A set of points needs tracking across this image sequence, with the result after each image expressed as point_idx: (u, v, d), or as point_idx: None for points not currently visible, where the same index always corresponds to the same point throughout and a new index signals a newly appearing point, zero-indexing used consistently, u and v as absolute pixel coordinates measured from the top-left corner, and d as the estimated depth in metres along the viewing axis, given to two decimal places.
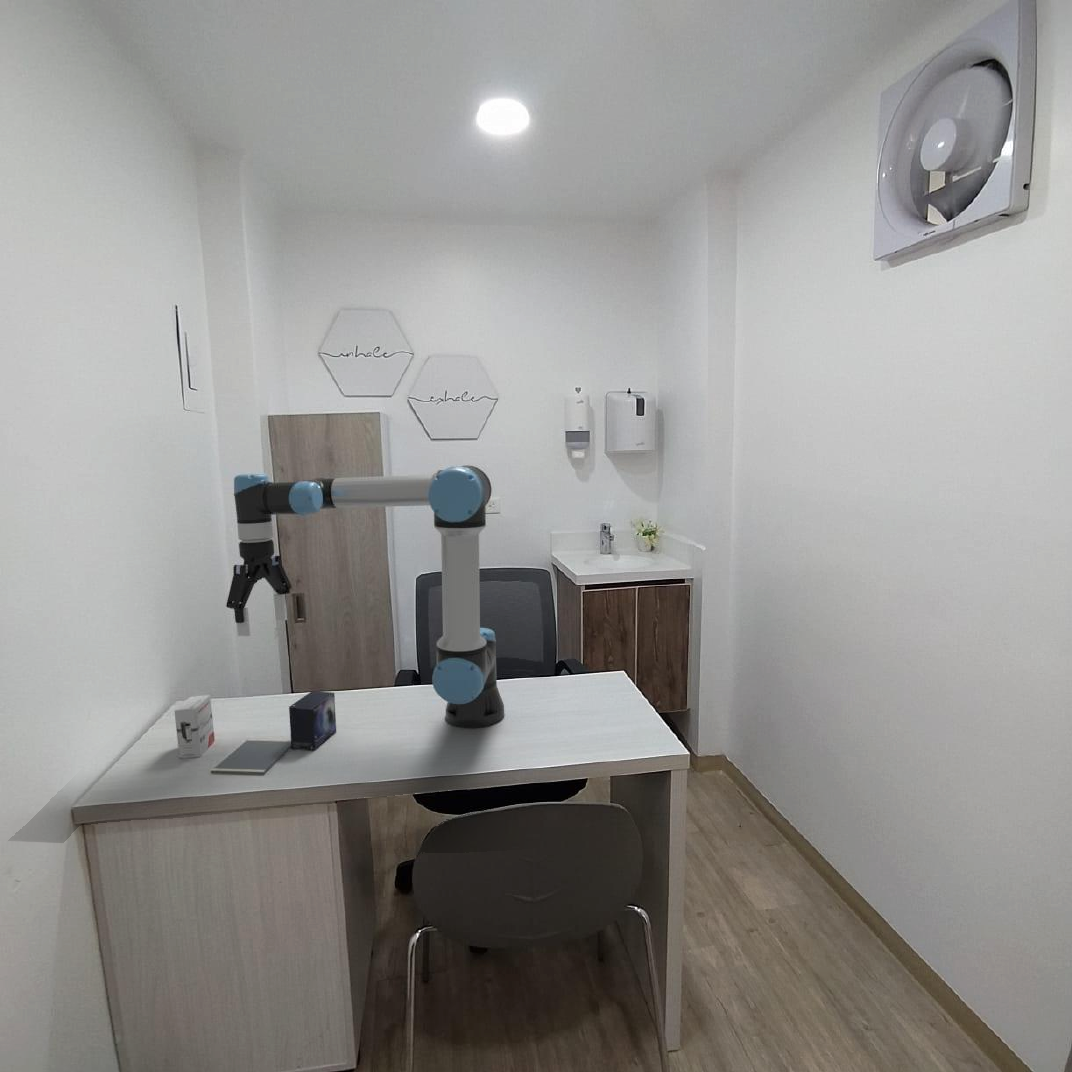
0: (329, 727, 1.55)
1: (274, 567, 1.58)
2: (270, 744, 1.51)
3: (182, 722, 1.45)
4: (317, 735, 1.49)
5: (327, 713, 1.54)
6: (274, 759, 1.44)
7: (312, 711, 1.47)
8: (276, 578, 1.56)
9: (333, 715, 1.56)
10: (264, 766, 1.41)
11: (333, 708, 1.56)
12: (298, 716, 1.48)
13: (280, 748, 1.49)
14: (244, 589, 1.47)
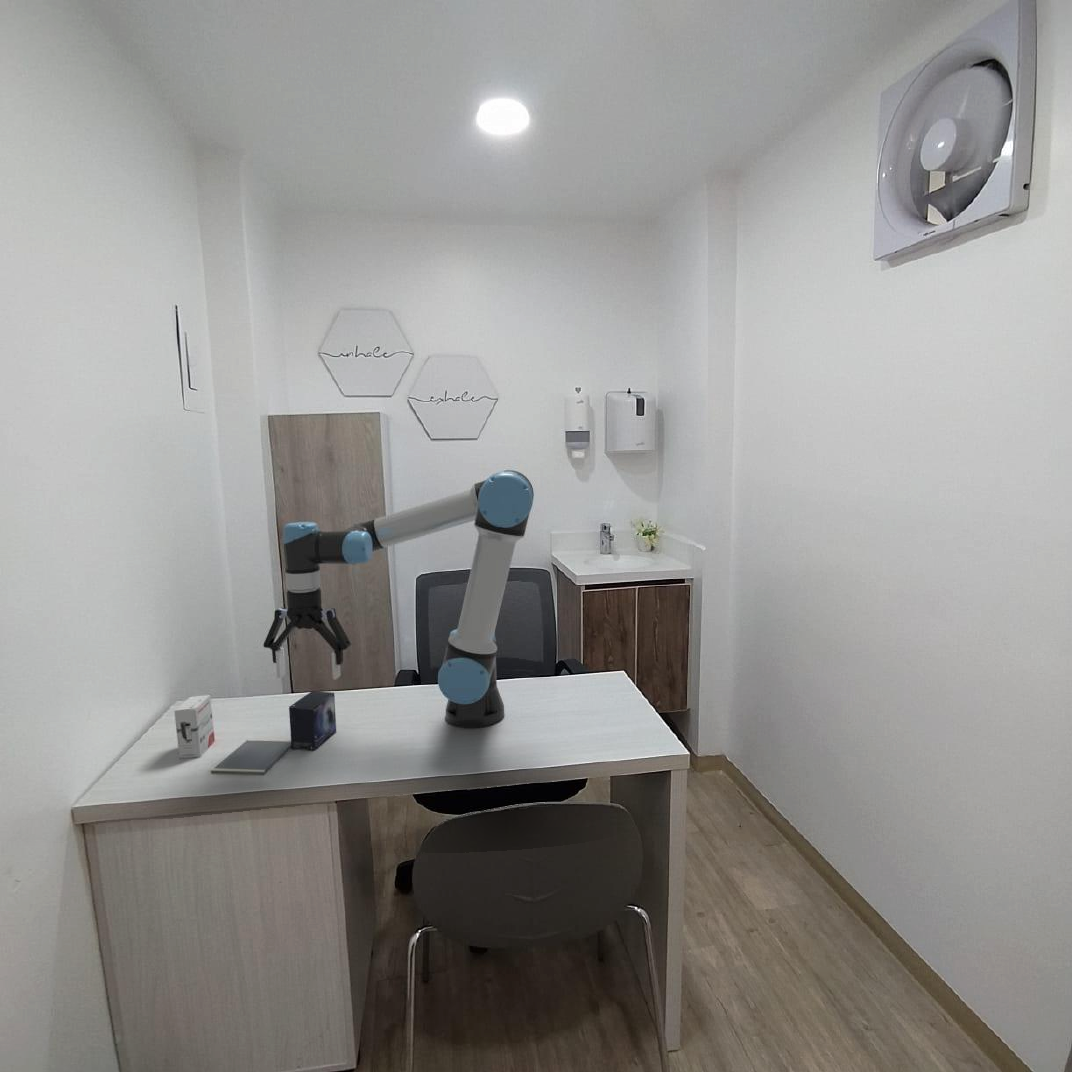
0: (329, 727, 1.55)
1: None
2: (270, 744, 1.51)
3: (181, 722, 1.45)
4: (317, 735, 1.49)
5: (327, 713, 1.54)
6: (274, 759, 1.44)
7: (312, 711, 1.47)
8: (323, 633, 1.49)
9: (333, 715, 1.56)
10: (264, 766, 1.41)
11: (333, 708, 1.56)
12: (298, 716, 1.48)
13: (280, 748, 1.49)
14: None
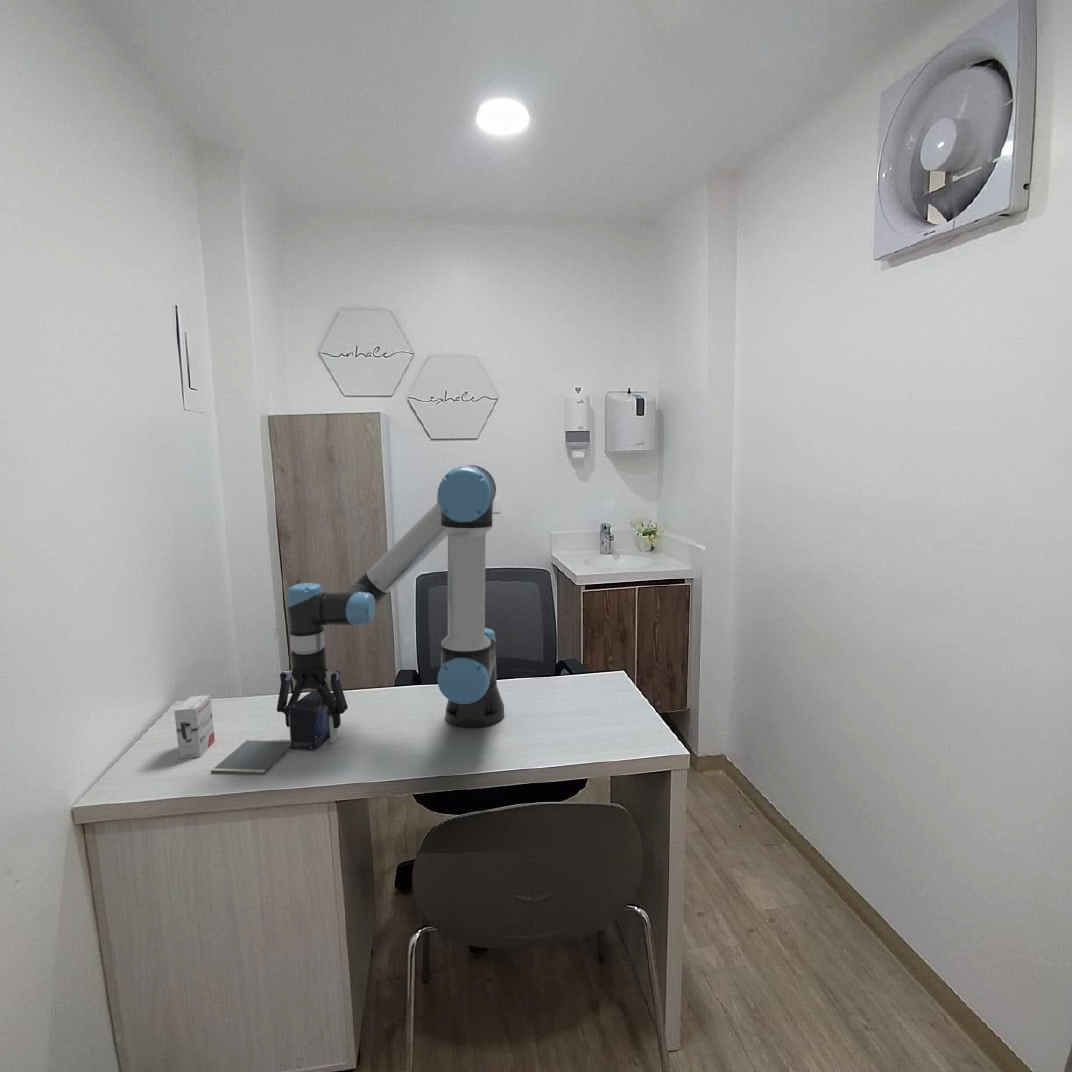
0: (329, 727, 1.55)
1: None
2: (270, 744, 1.51)
3: (182, 722, 1.45)
4: (317, 735, 1.49)
5: (327, 713, 1.54)
6: (274, 759, 1.44)
7: (312, 711, 1.47)
8: (324, 695, 1.51)
9: None
10: (264, 766, 1.41)
11: None
12: (298, 716, 1.48)
13: (280, 748, 1.49)
14: None
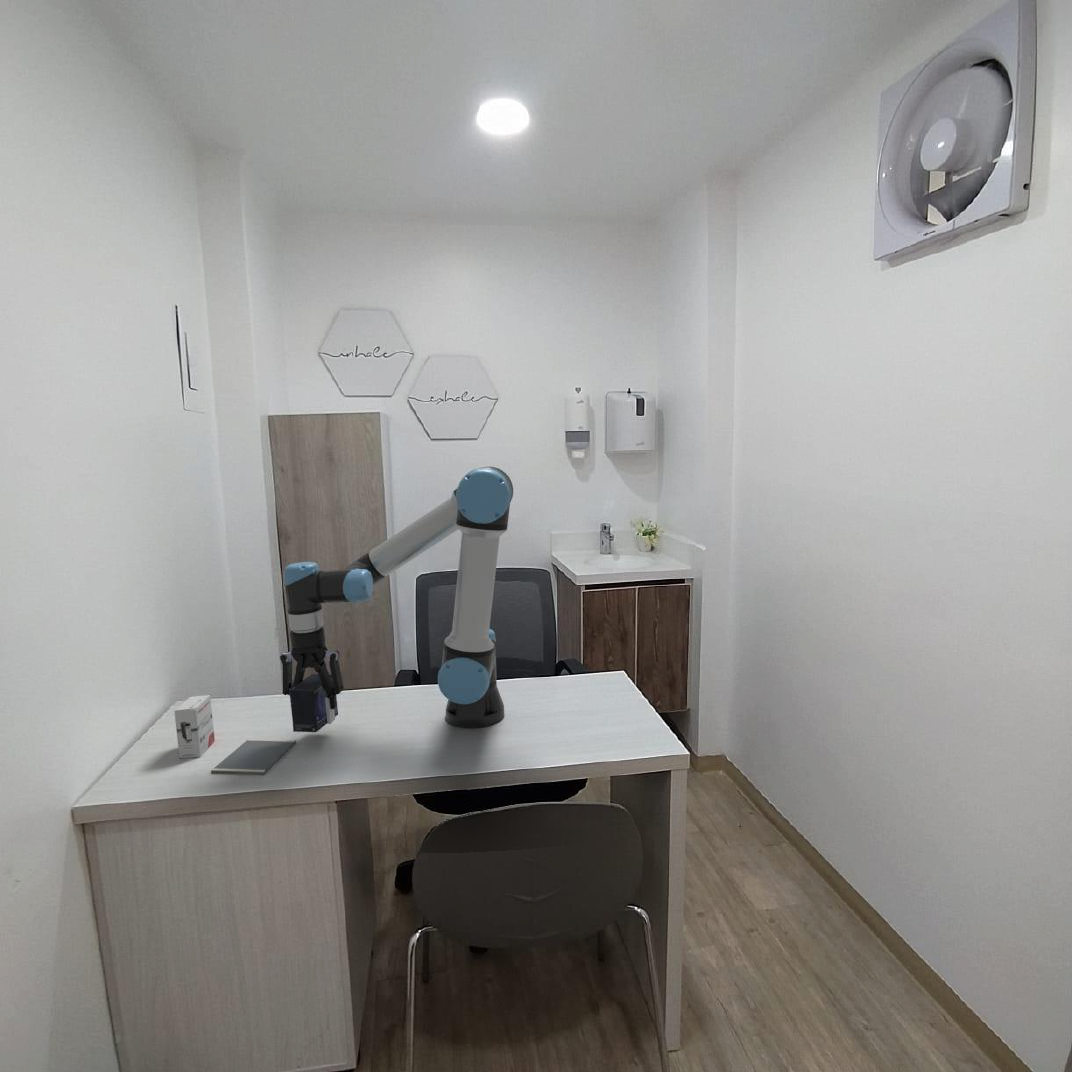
0: None
1: None
2: (270, 744, 1.51)
3: (182, 722, 1.45)
4: (318, 716, 1.49)
5: None
6: (274, 759, 1.44)
7: (312, 692, 1.47)
8: (321, 675, 1.50)
9: None
10: (264, 766, 1.41)
11: None
12: (299, 698, 1.47)
13: (280, 748, 1.49)
14: None
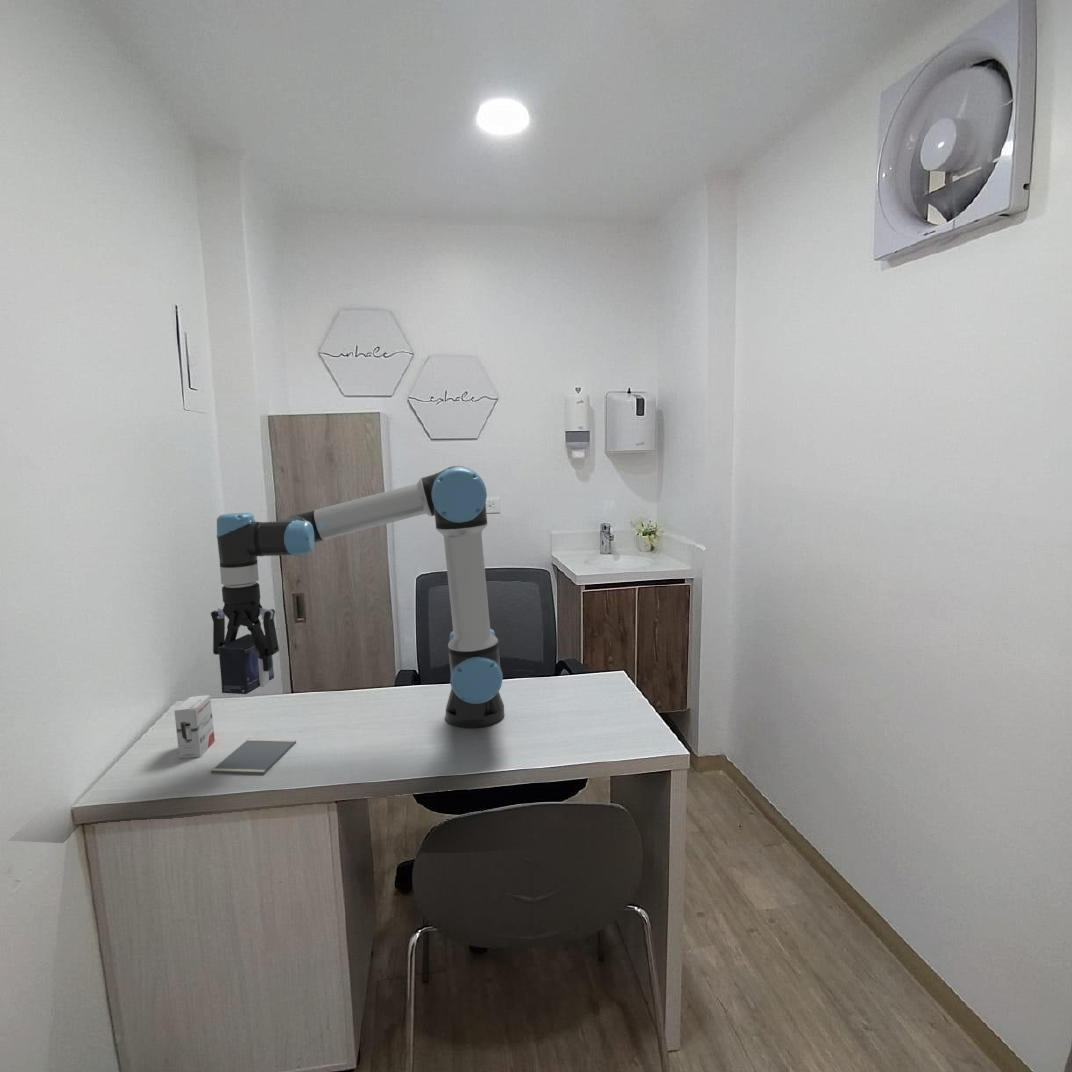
0: None
1: None
2: (270, 744, 1.51)
3: (182, 722, 1.45)
4: (249, 677, 1.39)
5: None
6: (274, 759, 1.44)
7: (243, 651, 1.37)
8: (255, 634, 1.41)
9: None
10: (264, 766, 1.41)
11: None
12: (228, 657, 1.38)
13: (280, 748, 1.49)
14: None
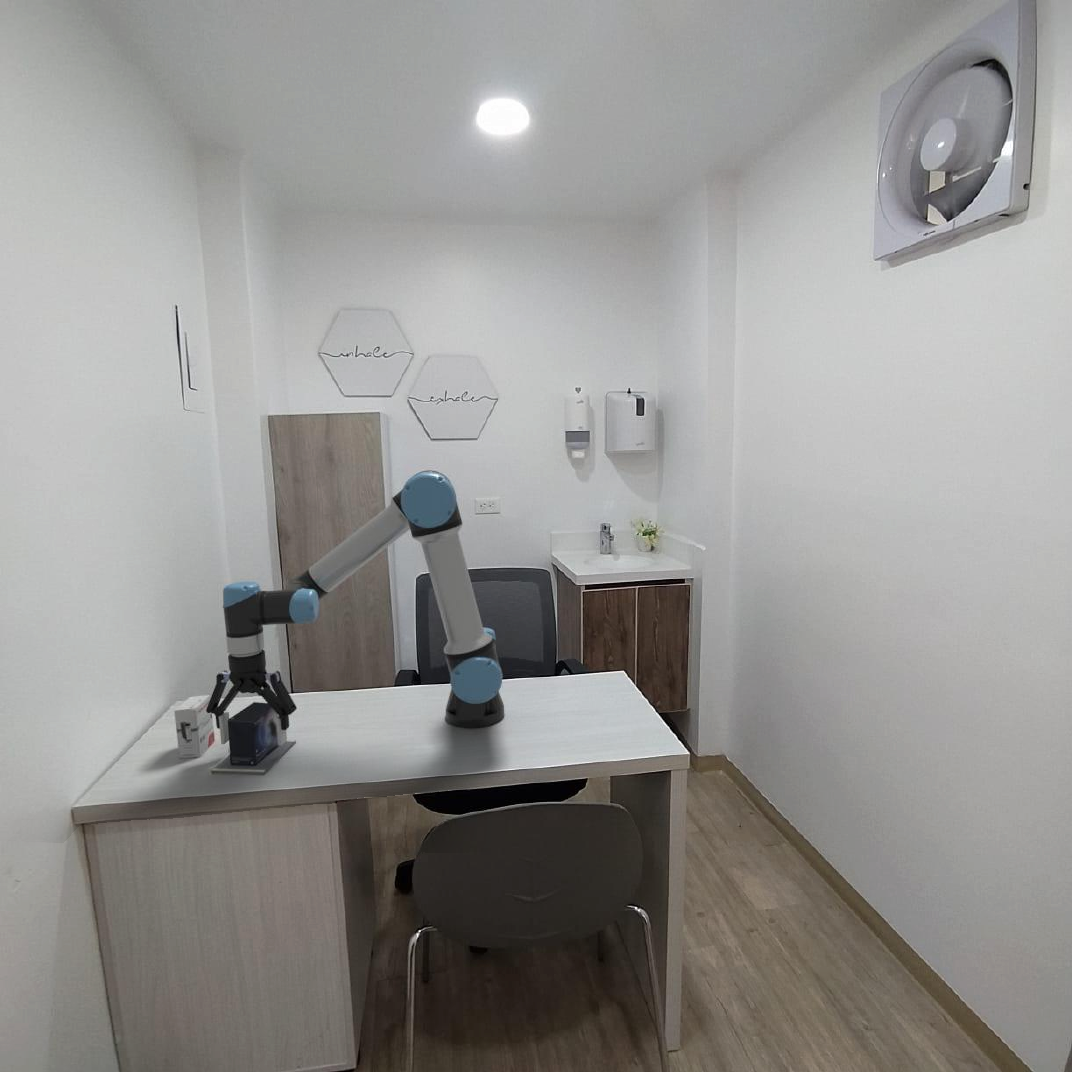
0: (272, 740, 1.47)
1: None
2: None
3: (182, 722, 1.45)
4: (258, 749, 1.41)
5: (270, 726, 1.46)
6: (274, 759, 1.44)
7: (252, 724, 1.40)
8: (266, 697, 1.43)
9: (276, 727, 1.49)
10: (264, 766, 1.41)
11: None
12: (238, 729, 1.40)
13: (280, 748, 1.49)
14: None
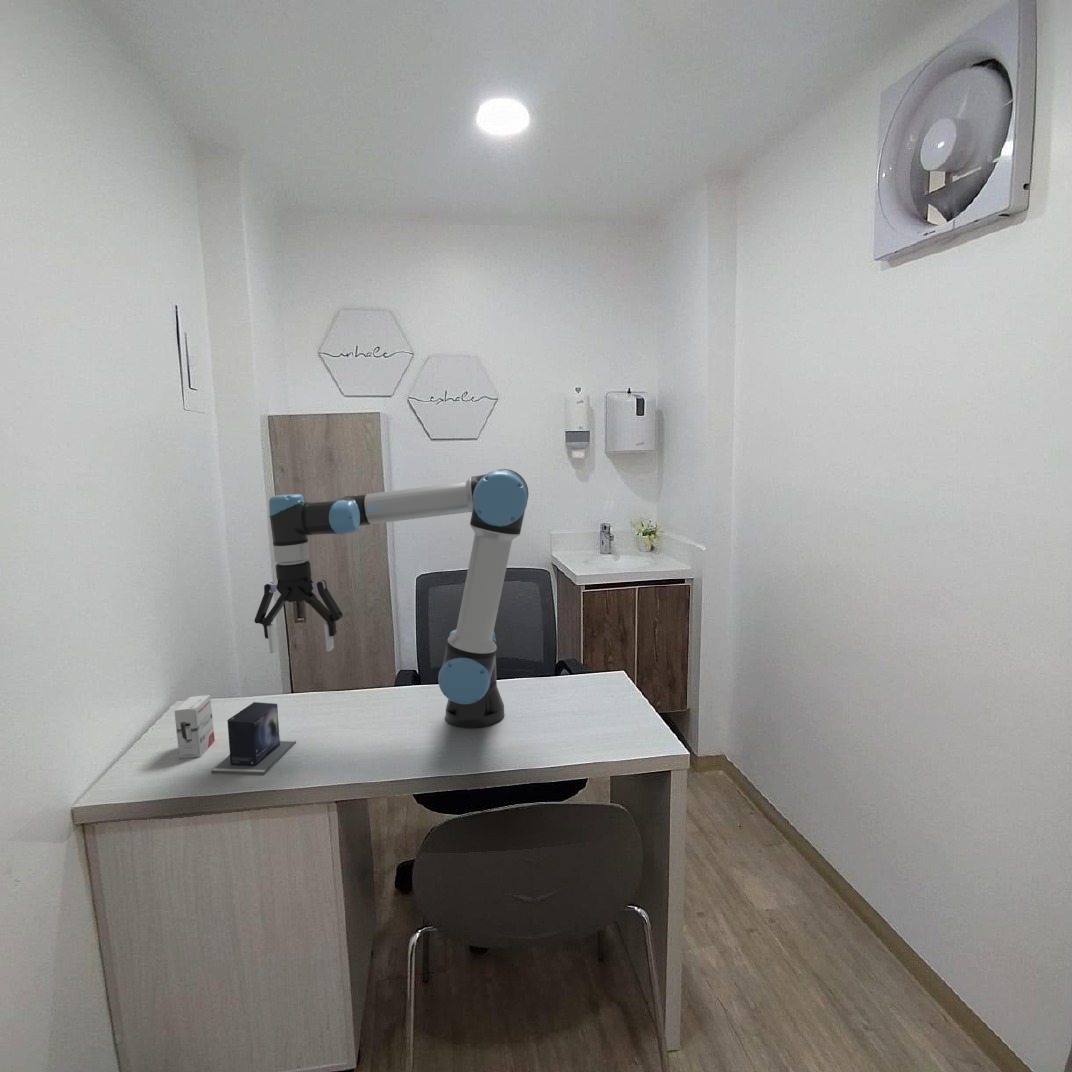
0: (272, 740, 1.47)
1: None
2: None
3: (182, 722, 1.45)
4: (258, 749, 1.41)
5: (270, 726, 1.46)
6: (274, 759, 1.44)
7: (252, 724, 1.40)
8: (314, 605, 1.48)
9: (276, 727, 1.49)
10: (264, 766, 1.41)
11: (276, 720, 1.49)
12: (238, 729, 1.40)
13: (280, 748, 1.49)
14: None
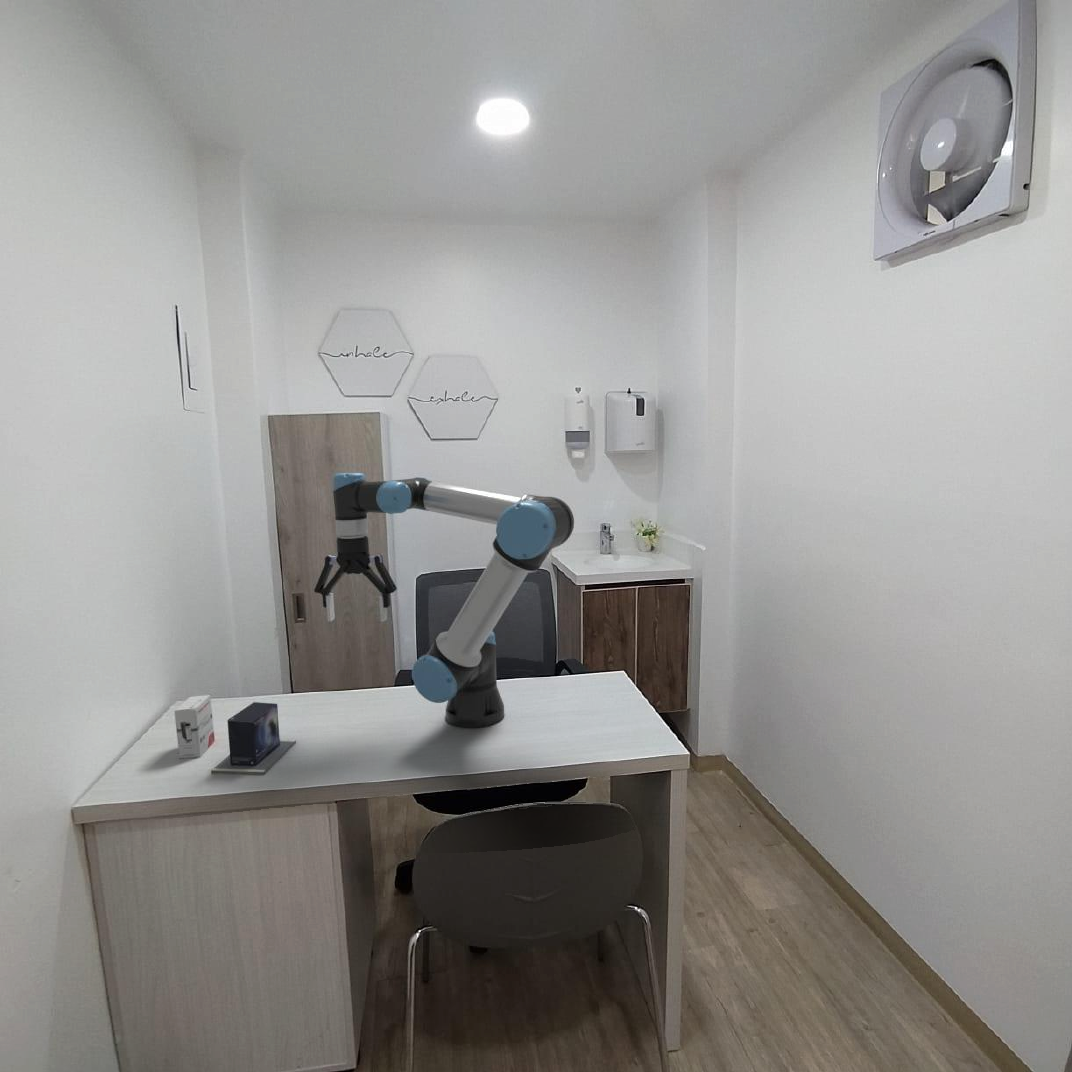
0: (272, 740, 1.47)
1: None
2: None
3: (182, 722, 1.45)
4: (258, 749, 1.41)
5: (270, 726, 1.46)
6: (274, 759, 1.44)
7: (252, 724, 1.40)
8: (371, 577, 1.57)
9: (276, 727, 1.49)
10: (264, 766, 1.41)
11: (276, 720, 1.49)
12: (238, 729, 1.40)
13: (280, 748, 1.49)
14: None
